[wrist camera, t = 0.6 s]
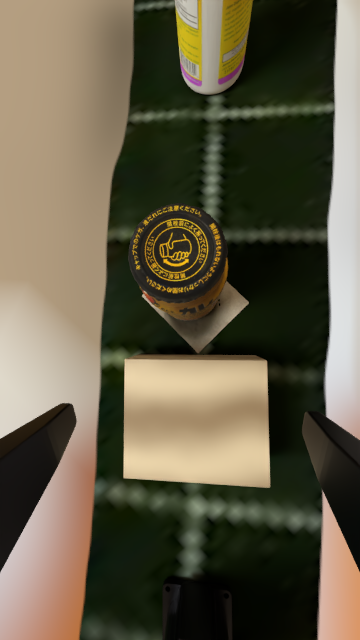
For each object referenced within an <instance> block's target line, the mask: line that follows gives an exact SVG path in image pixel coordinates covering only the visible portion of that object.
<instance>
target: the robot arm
mask: <svg viewBox="0 0 360 640" xmlns="http://www.w3.org/2000/svg"><path fill="white" fill-rule="evenodd" d="M75 426H76V416H75V412H74V408H73V405H72V404H69V403H62V404H60V405H58V406H56V407H54V408H52V409H51V410H49V411H47V412H46V413H44V414H42V415H41V416H39V417H37V418H35V419H34V420H32V421H30V422H29V423H27V424H25V425H23V426H22V427H20V428H18V429H16V430H15V431H13V432H11V433H9V434H8V435H6V436H5V437H3V438H1V439H0V572H1V570H2V568H3V566H4V564H5V563H6V561H7V559H8V557H9V555H10V553H11V551H12V550H13V548H14V546H15V544H16V542H17V540H18V539H19V537H20V535H21V533H22V531H23V529H24V527H25V526H26V524H27V522H28V520H29V518H30V517H31V515H32V513H33V511H34V509H35V507H36V505H37V504H38V502H39V500H40V498H41V496H42V494H43V493H44V491H45V489H46V487H47V485H48V483H49V482H50V480H51V478H52V476H53V474H54V472H55V470H56V468H57V467H58V464H59V462H60V460H61V458H62V456H63V453H64V451H65V449H66V447H67V444H68V442H69V440H70V438H71V435H72V433H73V431H74V428H75ZM302 433H303V437H304V440H305V443H306V446H307V449H308V452H309V454H310V457H311V460H312V463H313V466H314V469H315V472H316V475H317V477H318V480H319V483H320V485H321V487H322V490H323V492H324V494H325V496H326V498H327V500H328V503H329V505H330V507H331V509H332V512H333V514H334V516H335V518H336V520H337V522H338V525H339V527H340V529H341V531H342V534H343V536H344V538H345V540H346V542H347V545H348V547H349V549H350V551H351V554H352V556H353V558H354V560H355V562H356V564H357V567H358V569H359V571H360V440H359V439H357V438H355V437H354V436H353V435H351V434H350V433H349V432H347V431H346V430H344V429H343V428H341V427H340V426H338V425H337V424H336V423H334V422H333V421H331V420H330V419H329V418H327V417H326V416H324V415H323V414H321V413H320V412H317V411H307V412H306V413H305V416H304V421H303V426H302ZM167 586H169V587H167ZM225 593H227V594H225ZM163 640H232V595H231V589H230V587H228V586H226V585H218V584H209V583H201V582H192V581H183V580H174V579H166V580H165V581H164V584H163Z"/></svg>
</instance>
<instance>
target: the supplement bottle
mask: <svg viewBox="0 0 360 640" xmlns="http://www.w3.org/2000/svg"><path fill="white" fill-rule="evenodd" d="M252 2H253V0H175V6H176V18H177V29H178V40H179V52H180V62H181V70H182V74H183V77H184V80H185V82H186V83H187V85H188V86H189V87H190V88H191V89H192V90H194V91H195V92H198V93H200V94H206V95H210V94H217V93H220V92H223V91H225V90H226V89H228V88H229V87H230V86H231V85H233V83H234V82H235V81H236V80H237V78H238V77H239V75H240V73H241V70H242V67H243V63H244V57H245V51H246V43H247V37H248V30H249V23H250V16H251V9H252Z"/></svg>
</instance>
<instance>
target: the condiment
mask: <svg viewBox="0 0 360 640" xmlns="http://www.w3.org/2000/svg"><path fill="white" fill-rule="evenodd" d="M227 254H228V248H227V244H226V240H225V237H224V235H223V231H222V229H221V227H220V226H219V225H218V223H217V222H216V221H215V220H214V219H213V218H212V217H211V216H210V215H209V214H207V213H206V212H205V211H204V210H202V209H200V208H198V207H193V206H189V205H186V204H184V203H176V204H170V205H167V206H164V207H161V208H158V209H156V210H154V211H153V212H152V213H150V214H149V215H148V216H147V217H146V218H145V219H144V220H142V221H141V222H140V223H139V225H138V226H137V227H136V229H135V231H134V234H133V236H132V238H131V241H130V246H129V257H128V260H129V264H130V269H131V272H132V275H133V276H134V278H135V280H136V282H137V283H138V284H139V286H140V288H141V290H142V292H143V295H142V297H143V298H144V299H145V300H146V301H147V302H148V303H149V304H150V305H151V306H152V307H153V308H154V309H155V310H156V311H157V312H158V313H159V314H160V315H161V316H162V317H163V318H164V319H165V320H166V321H167V322H168V323H169V324H170V325H171V326H172V327H173V328H174V329H175V330H176V331H177V332H178V333H179V334H180V335H181V336H182V337H183V338H184V340H186V341H187V342H188V344H189V345H190V346H191V347H192V348H193V349H194V350H195V351H196V352H197V353H199V352H200V351H201V350H202V349H203V348H204V347H205V346H206V345H207V344H208V343H209V342H210V341H211V340H212V339H213V338H214V337H215V336H216V335H217V334H218V333H219V332H220V331H221V330H222V329H223V328H224V327H225V326H226V325H227V324H228V323H229V322H230V321H231V320H232V319H233V318H234V317H235V316H236V315H237V314H238V313H239V312H240V311H241V310H242V309H243V308H244V307H245V306H246V305H247V304H249V302H248V301H247V300H246V299H245V298H244V297H243V296H242V295H241V294H240V293H238V292H237V290H236V289H234V288H233V287H232V286H231V285H230V284H229V283H228V282H227V281H226V280H227V273H228V259H227ZM218 299H220V301H219V302H218ZM219 303H220V306H219ZM185 323H187V324H185Z"/></svg>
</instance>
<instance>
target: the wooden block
mask: <svg viewBox="0 0 360 640" xmlns="http://www.w3.org/2000/svg"><path fill="white" fill-rule="evenodd" d="M124 478H132V479H147V480H162V481H177V482H192V483H207V484H221V485H236V486H251V487H266V488H270V461H269V420H268V379H267V360H265V359H262V358H260V357H258V356H256V355H135V356H133V357H130V358H127V359H125V397H124Z"/></svg>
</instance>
